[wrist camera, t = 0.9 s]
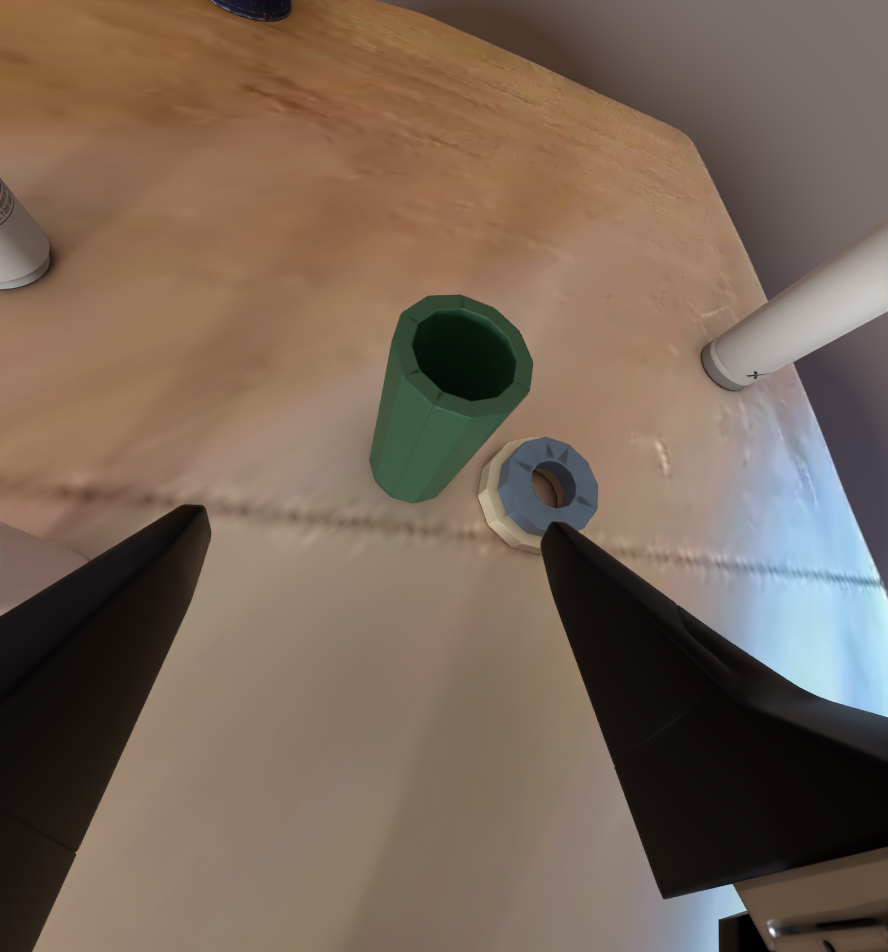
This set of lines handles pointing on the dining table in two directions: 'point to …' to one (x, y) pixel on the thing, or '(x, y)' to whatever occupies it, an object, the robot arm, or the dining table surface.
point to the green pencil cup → (445, 392)
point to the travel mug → (805, 314)
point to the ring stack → (516, 502)
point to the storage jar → (257, 8)
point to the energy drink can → (20, 243)
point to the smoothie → (30, 565)
